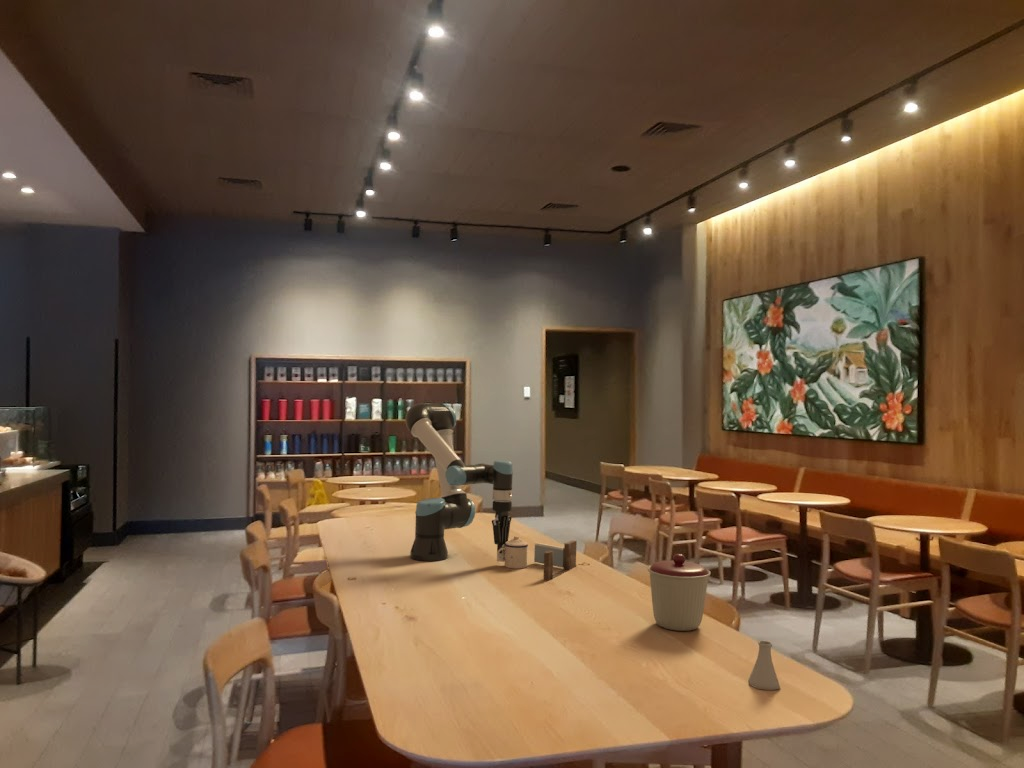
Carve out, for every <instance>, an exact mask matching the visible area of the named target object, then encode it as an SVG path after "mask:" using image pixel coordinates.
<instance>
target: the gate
mask: <svg viewBox="0 0 1024 768" xmlns="http://www.w3.org/2000/svg"><path fill="white" fill-rule="evenodd" d="M547 551H553V567H558V568H563V569H564V547H563V546H558V545H552V544H546V543H542V542H541V543H540V542H534V563H538V564H542V565H544V552H547Z"/></svg>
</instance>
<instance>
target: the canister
mask: <svg viewBox="0 0 1024 768" xmlns="http://www.w3.org/2000/svg"><path fill="white" fill-rule="evenodd" d="M647 571H648V572H649V580H650V593H651V594H650V595H651V604H652V613H653V618H654V621H655V623H656V624H657V625H658V626H659V627H661V628H663V629H667V630H671V631H679V632H681V631H682V632H687V631H689V632H690V631H692V630H696V629H698V628H699V627H700V626H701V624H702V621H703V617H704V616H703V615H704V609H705V604H706V596H707V589H708V580H709V577H710V576H711V571H710V570H709V569H707V568H706V567H705V565H701V564H699V563H694V562H691V561H686V557H685V555H684V554H682V553H675V554H674V555H673V557H672V560H660V561H657V562H653V563H652V564H651V565H649V566H648V567H647Z"/></svg>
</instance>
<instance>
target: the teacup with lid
mask: <svg viewBox="0 0 1024 768" xmlns="http://www.w3.org/2000/svg"><path fill="white" fill-rule="evenodd" d="M528 546H529V544H528V542H527V541H524V540H523V539H521V538H520V537H519V536H518V535H515V536H514V537H513V538H511V539H510V540H508V541H507V542H505V548H500V549H499V550H498V552H497V551H496V556H497V555H498V558H499V559H500V560H502V561H504V566H505V568H508V569H514V570H515V569H516V570H517V569H518V570H519V569H525V568H527V566H528ZM501 550H505V559H502V558H501V557H500V554H499V553H500V551H501Z"/></svg>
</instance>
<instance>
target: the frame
mask: <svg viewBox="0 0 1024 768" xmlns="http://www.w3.org/2000/svg"><path fill="white" fill-rule="evenodd" d="M576 567H577V540H569V541H567V542H564V568H563V569H562V570H559V571H558V572H555V573H553V571H554V566H553V551H547V552H544V564H543V577H542V578H543V581H551V580H553V579H555V578H557V577H559V576H561V575H563V574H565V573H566V572H569V571H570V570H572V569H573V568H576ZM564 572H565V573H564ZM562 573H563V574H562Z"/></svg>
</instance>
